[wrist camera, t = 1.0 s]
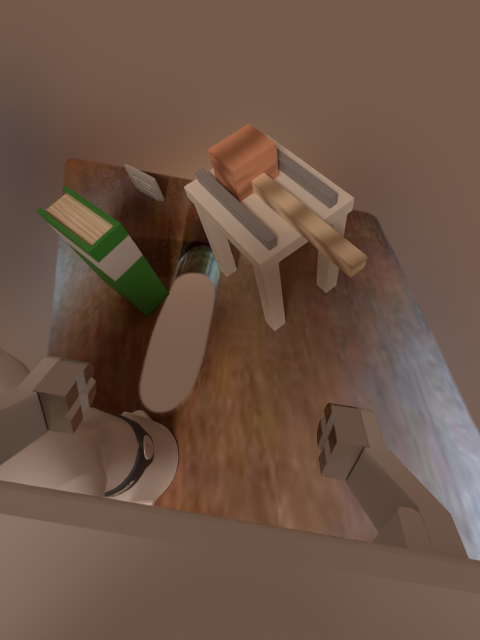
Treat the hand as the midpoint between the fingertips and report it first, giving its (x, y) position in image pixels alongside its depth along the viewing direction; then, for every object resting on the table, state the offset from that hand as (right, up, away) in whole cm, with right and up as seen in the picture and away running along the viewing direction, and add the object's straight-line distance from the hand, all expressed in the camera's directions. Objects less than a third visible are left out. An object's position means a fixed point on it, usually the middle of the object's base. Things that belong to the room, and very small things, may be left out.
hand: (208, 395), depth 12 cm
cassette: (-24, +38, +85) cm, 97 cm away
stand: (+9, +12, +66) cm, 67 cm away
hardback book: (-24, +11, +71) cm, 76 cm away
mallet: (+9, +19, +41) cm, 46 cm away
